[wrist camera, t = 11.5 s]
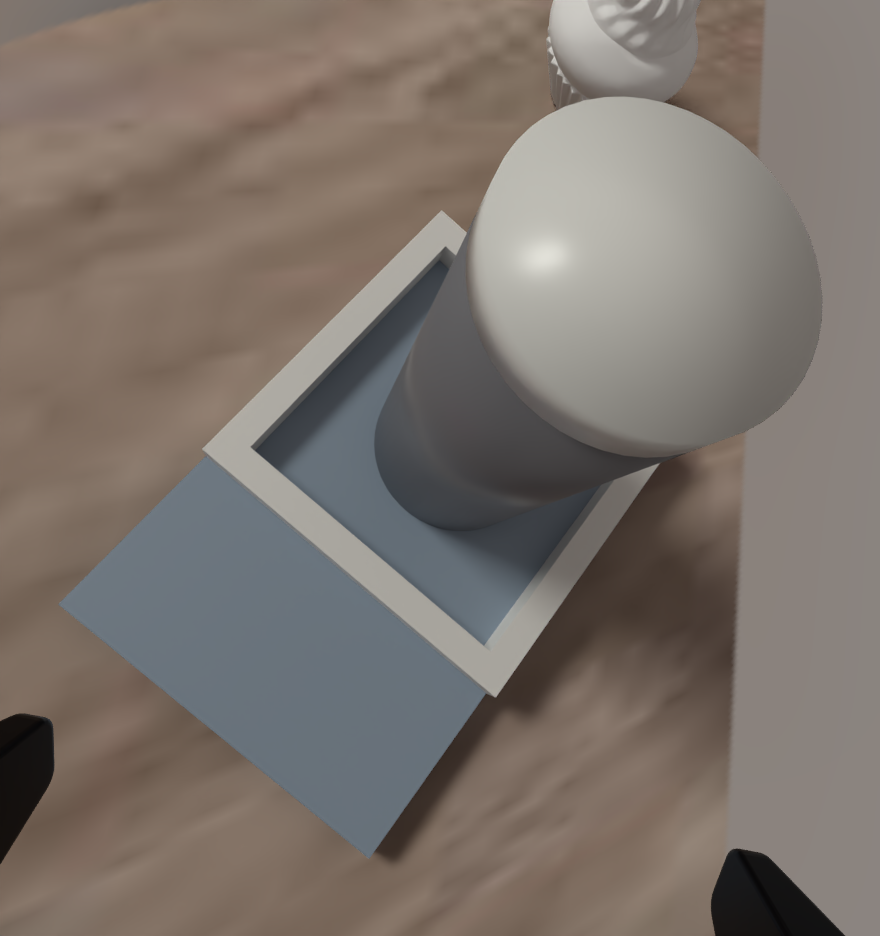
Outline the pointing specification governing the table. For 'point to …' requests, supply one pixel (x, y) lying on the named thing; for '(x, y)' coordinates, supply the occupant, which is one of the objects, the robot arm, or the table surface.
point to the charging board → (337, 575)
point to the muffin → (620, 48)
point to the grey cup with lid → (601, 316)
